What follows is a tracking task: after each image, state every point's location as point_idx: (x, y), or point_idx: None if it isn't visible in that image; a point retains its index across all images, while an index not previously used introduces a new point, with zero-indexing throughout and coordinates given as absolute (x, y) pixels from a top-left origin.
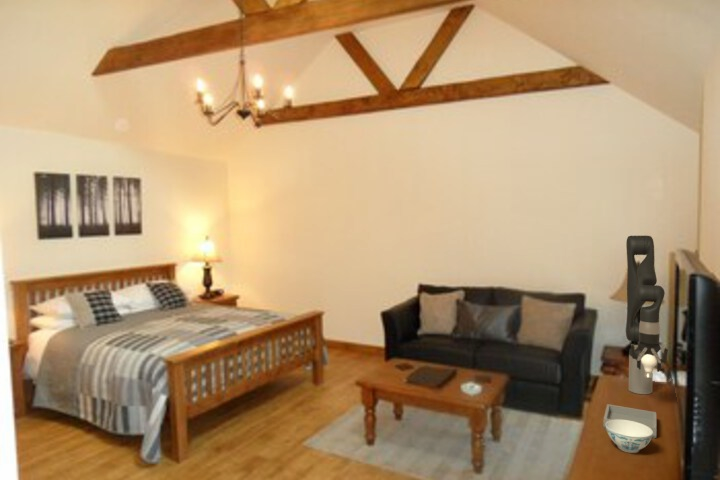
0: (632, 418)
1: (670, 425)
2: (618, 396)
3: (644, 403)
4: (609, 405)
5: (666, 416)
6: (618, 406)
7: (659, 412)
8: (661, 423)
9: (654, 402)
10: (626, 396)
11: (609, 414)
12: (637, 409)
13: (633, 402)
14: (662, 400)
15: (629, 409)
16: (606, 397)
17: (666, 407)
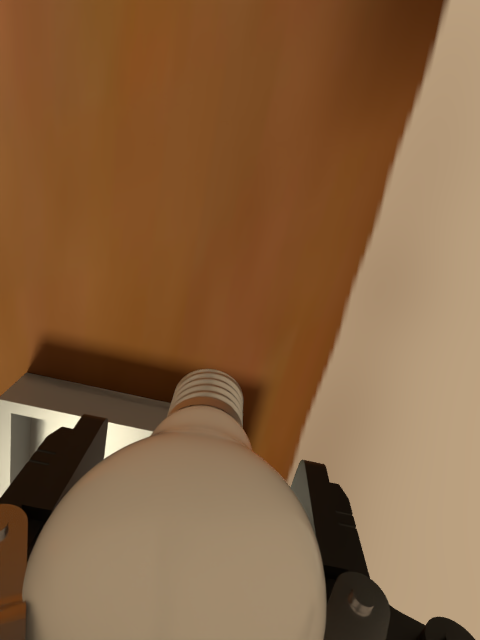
0: (132, 439)
1: (290, 439)
2: (86, 26)
3: (242, 141)
4: (10, 415)
5: (310, 335)
6: (55, 418)
7: (291, 285)
8: (257, 427)
9: (315, 94)
10: (143, 3)
11: (33, 419)
12: (148, 435)
13: (175, 143)
14: (390, 19)
15: (111, 430)
16: (7, 85)
17: (362, 182)
